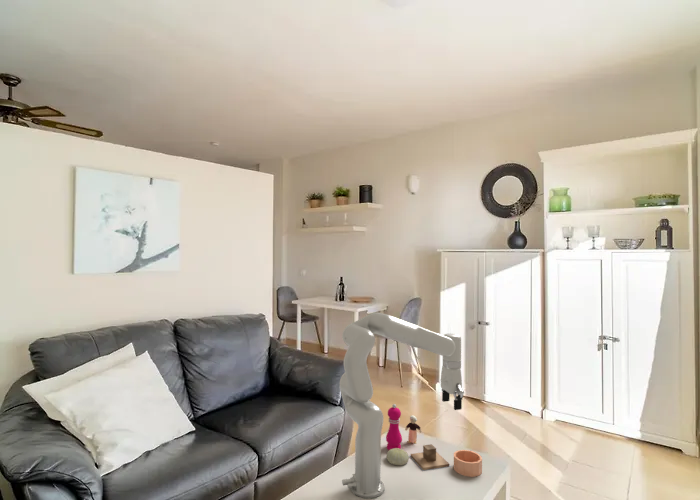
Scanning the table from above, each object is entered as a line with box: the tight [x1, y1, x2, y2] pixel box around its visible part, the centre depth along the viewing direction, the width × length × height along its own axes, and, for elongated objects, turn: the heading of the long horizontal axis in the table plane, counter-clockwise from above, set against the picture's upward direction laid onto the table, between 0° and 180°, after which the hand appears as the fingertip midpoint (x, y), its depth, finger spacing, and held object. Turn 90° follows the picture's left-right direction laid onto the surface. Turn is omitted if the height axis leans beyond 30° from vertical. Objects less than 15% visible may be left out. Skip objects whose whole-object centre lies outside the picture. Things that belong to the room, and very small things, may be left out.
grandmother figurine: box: [404, 415, 422, 445], centre depth 187 cm, size 8×4×13 cm, turn 81°
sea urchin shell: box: [386, 448, 410, 466], centre depth 170 cm, size 9×8×8 cm
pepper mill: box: [385, 403, 403, 451], centre depth 181 cm, size 7×7×20 cm
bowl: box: [453, 449, 483, 478], centre depth 163 cm, size 11×11×6 cm
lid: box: [410, 443, 450, 471], centre depth 170 cm, size 12×12×6 cm
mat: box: [408, 455, 452, 472], centre depth 169 cm, size 13×13×1 cm
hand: (451, 405), depth 166 cm, fingers open, 9 cm apart
